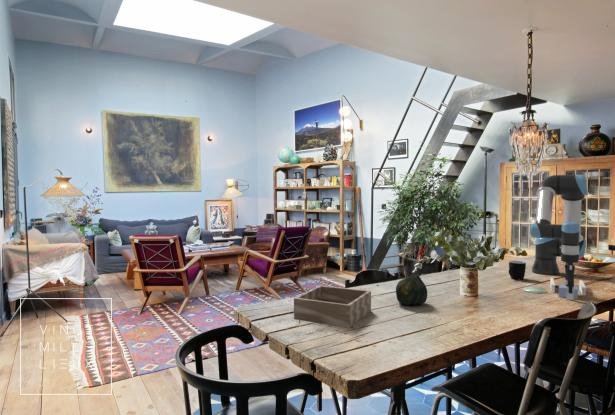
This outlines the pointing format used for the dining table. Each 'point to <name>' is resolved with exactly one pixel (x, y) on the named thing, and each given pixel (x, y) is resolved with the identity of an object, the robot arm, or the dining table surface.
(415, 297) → the squash
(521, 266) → the mug
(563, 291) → the block
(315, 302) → the planter box
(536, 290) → the coaster
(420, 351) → the dining table surface
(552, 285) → the channel
